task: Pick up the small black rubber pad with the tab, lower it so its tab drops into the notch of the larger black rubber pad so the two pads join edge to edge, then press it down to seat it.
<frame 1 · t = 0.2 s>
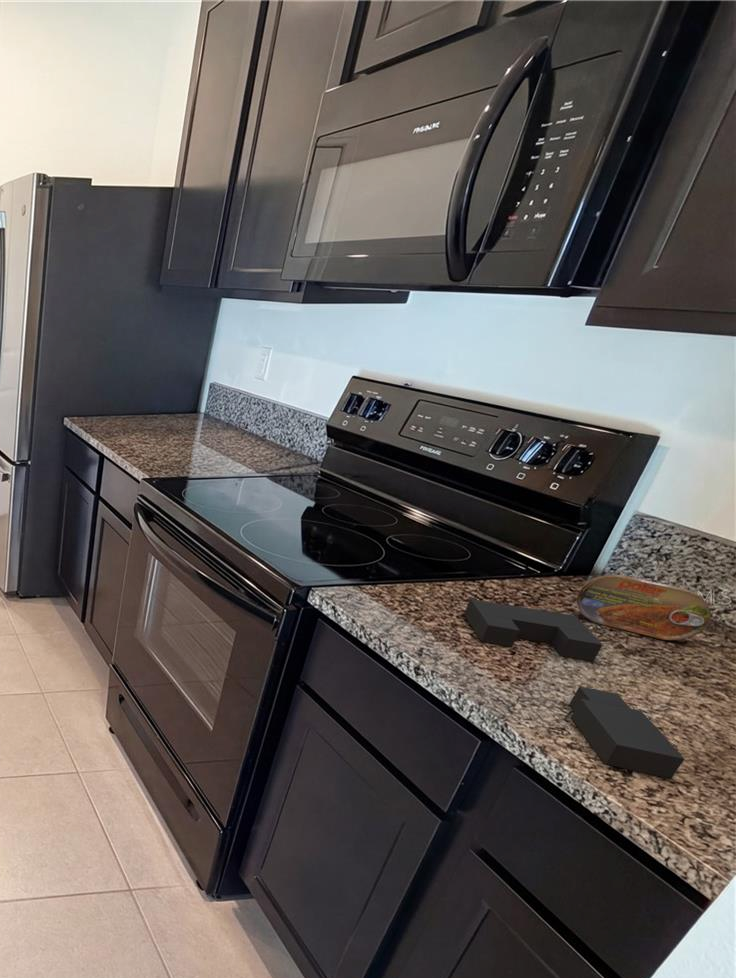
notch pad: (524, 636, 104), on the counter
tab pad: (617, 746, 80), on the counter
tin: (627, 629, 107), on the counter
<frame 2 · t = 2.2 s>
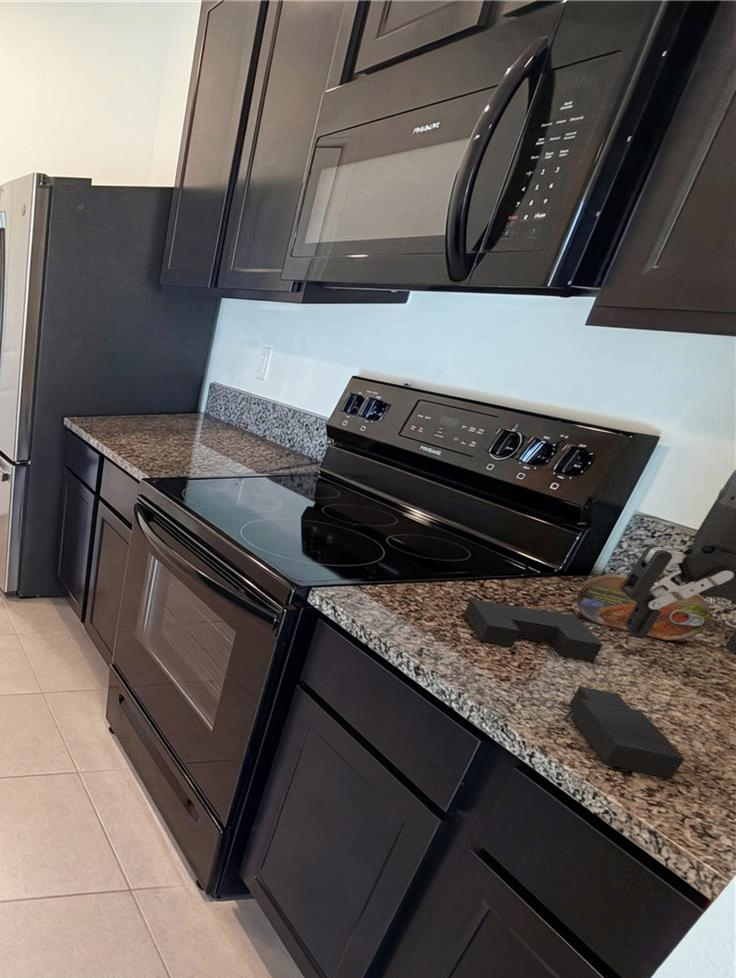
hand: (684, 643, 73), 15 cm above the counter, tool pointing down, fingers open, 8 cm apart
nothing on the counter moved.
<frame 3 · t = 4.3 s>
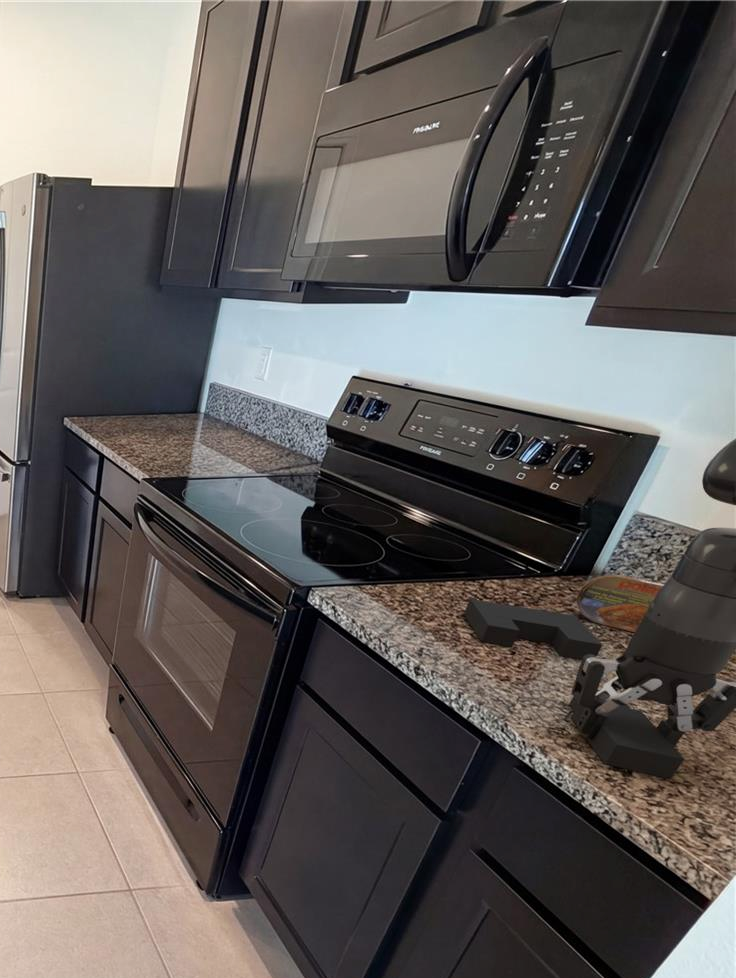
hand: (620, 742, 80), 1 cm above the counter, tool pointing down, fingers closed on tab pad, 6 cm apart
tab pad: (617, 746, 80), on the counter, touching gripper
everything else where it was.
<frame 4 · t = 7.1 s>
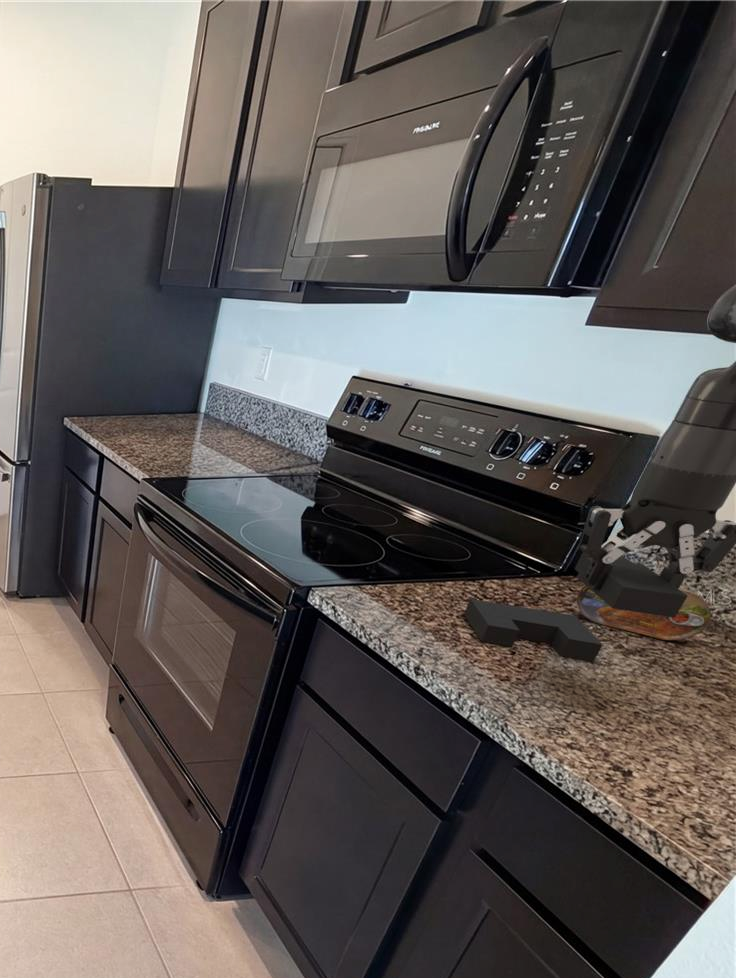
hand: (625, 591, 83), 15 cm above the counter, tool pointing down, fingers closed on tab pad, 6 cm apart
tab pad: (622, 596, 84), point 15 cm above the counter, touching gripper
everything else where it was.
when the fingers open (1 cm above the counter, at t = 10.4 s): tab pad stays where it is, on the counter.
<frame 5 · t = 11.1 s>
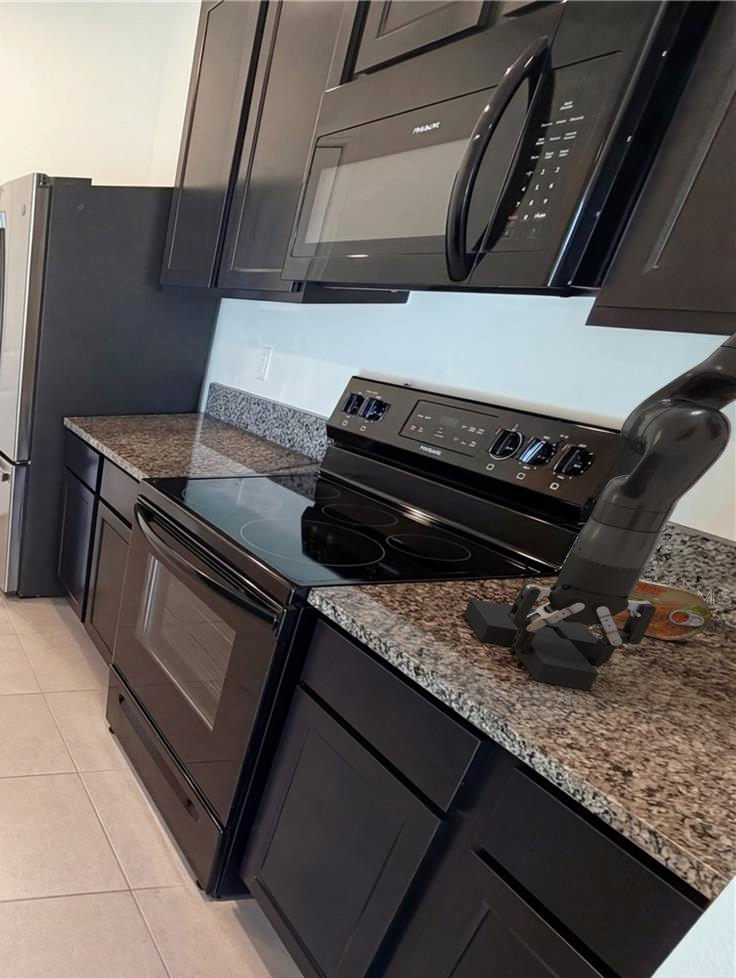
hand: (556, 657, 95), 2 cm above the counter, tool pointing down, fingers open, 8 cm apart
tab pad: (548, 668, 96), on the counter
everything else where it was.
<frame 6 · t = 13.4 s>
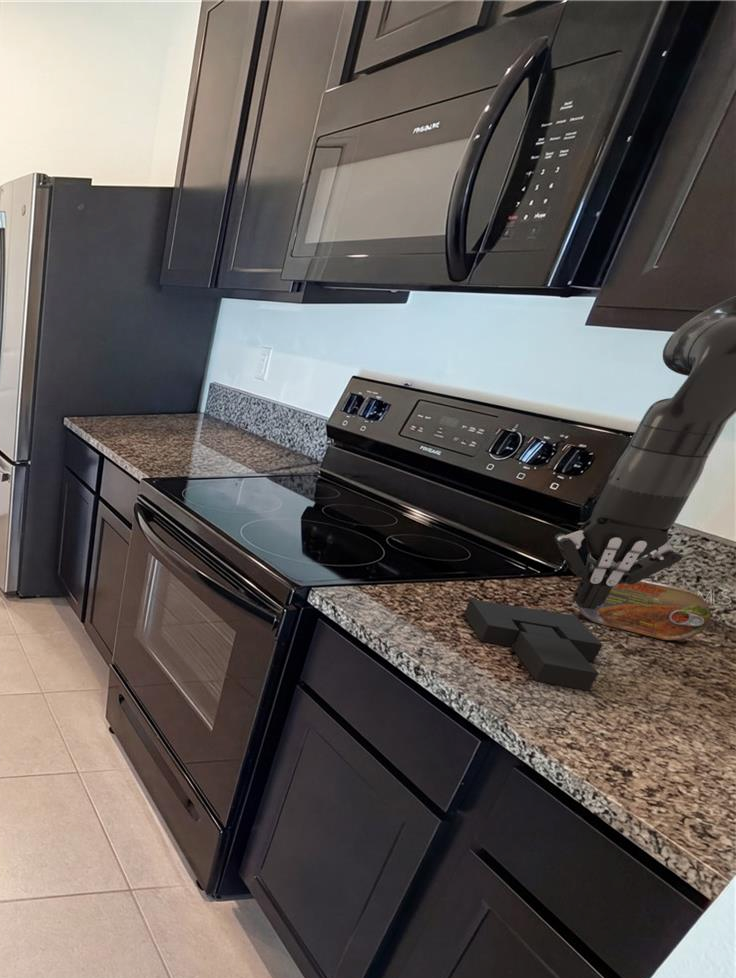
hand: (584, 606, 90), 11 cm above the counter, tool pointing down, fingers closed
nothing on the counter moved.
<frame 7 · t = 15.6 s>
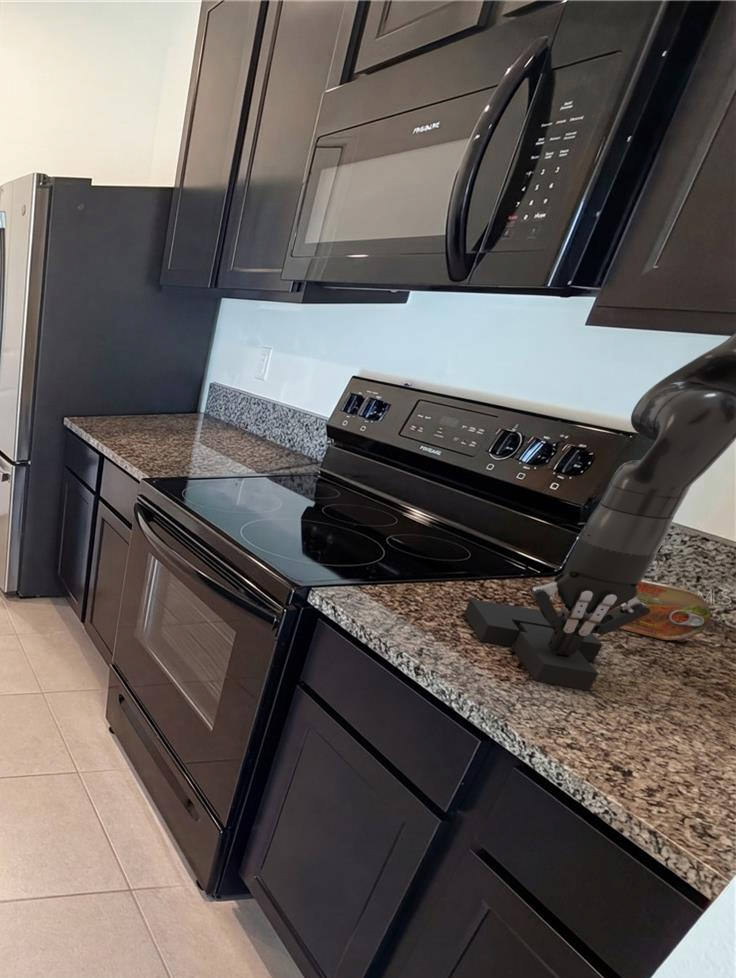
hand: (559, 653, 94), 3 cm above the counter, tool pointing down, fingers closed
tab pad: (548, 668, 96), on the counter, touching gripper
everything else where it was.
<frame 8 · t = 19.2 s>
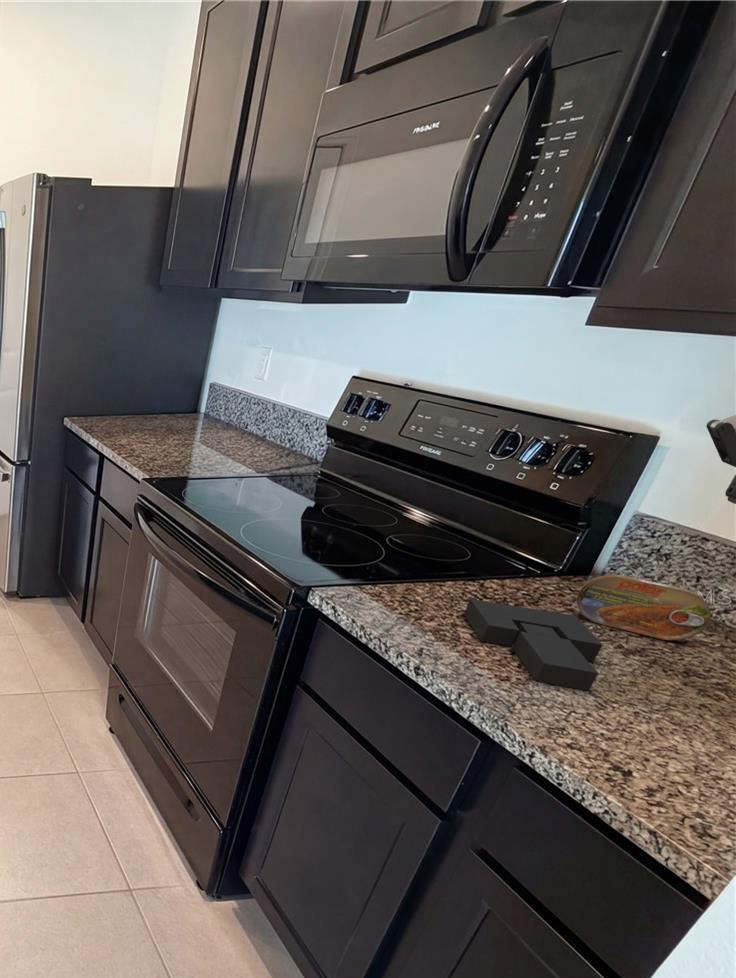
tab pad: (548, 668, 96), on the counter
everything else where it was.
at the end: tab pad 0.1 cm from the target spot on the counter beside the notch pad, on the counter; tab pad tilted 0°; the gripper is holding nothing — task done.
